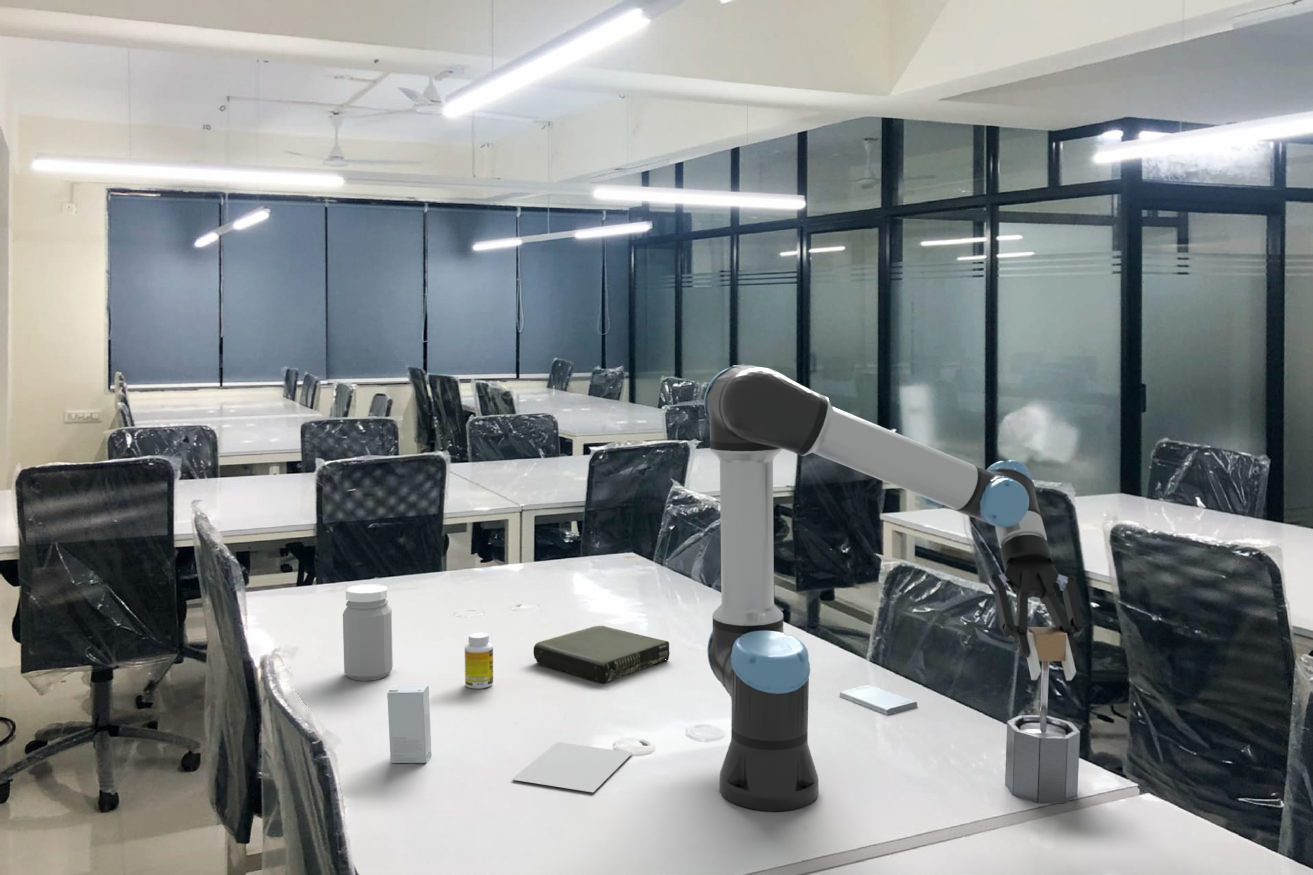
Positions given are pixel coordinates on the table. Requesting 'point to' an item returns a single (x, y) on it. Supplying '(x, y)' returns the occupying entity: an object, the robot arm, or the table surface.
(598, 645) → the network switch
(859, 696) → the hard drive
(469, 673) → the supplement bottle
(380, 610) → the jar
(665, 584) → the table surface
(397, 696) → the skincare box
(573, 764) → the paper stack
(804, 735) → the robot arm
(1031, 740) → the octagonal metal cup
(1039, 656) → the plunger
